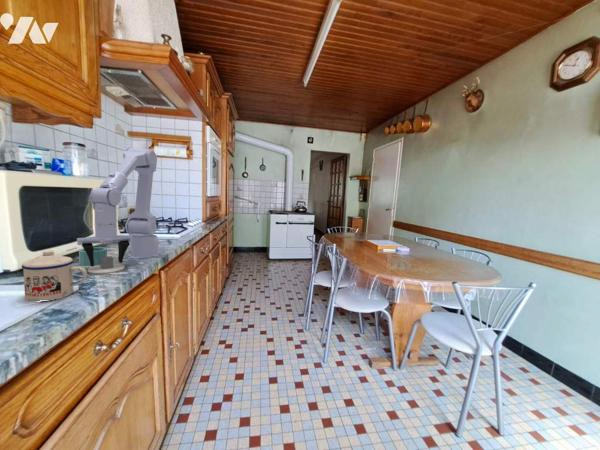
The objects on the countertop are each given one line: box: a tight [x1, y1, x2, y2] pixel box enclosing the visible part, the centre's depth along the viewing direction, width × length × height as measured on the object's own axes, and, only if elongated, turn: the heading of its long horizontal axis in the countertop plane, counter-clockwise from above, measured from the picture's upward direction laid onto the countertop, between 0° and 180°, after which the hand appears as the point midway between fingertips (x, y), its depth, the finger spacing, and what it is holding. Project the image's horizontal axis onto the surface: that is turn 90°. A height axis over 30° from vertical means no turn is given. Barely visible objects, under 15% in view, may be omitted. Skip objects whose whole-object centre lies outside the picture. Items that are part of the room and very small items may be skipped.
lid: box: [87, 256, 126, 275], centre depth 84 cm, size 10×10×4 cm
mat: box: [84, 262, 130, 277], centre depth 85 cm, size 10×10×1 cm
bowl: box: [78, 246, 108, 267], centre depth 90 cm, size 8×8×5 cm
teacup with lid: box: [21, 249, 88, 302], centre depth 63 cm, size 12×9×12 cm
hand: (106, 263), depth 84 cm, fingers open, 7 cm apart
